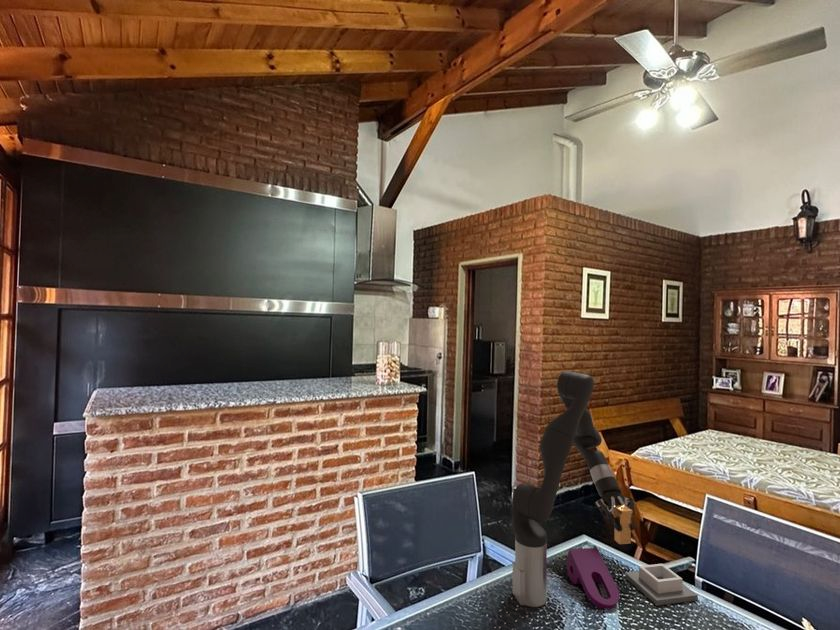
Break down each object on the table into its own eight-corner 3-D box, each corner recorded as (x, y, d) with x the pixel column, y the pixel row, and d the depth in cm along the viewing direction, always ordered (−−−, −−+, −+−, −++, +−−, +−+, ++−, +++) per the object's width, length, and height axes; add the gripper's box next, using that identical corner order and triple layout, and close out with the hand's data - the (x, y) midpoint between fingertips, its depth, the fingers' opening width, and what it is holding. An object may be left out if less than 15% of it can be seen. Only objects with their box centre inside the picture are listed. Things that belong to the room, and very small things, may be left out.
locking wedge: (621, 545, 143) (621, 511, 143) (613, 538, 147) (613, 505, 147) (632, 544, 144) (632, 510, 144) (623, 538, 148) (623, 505, 148)
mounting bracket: (618, 621, 129) (591, 564, 145) (625, 604, 125) (597, 547, 142) (588, 623, 128) (564, 566, 144) (594, 605, 124) (569, 548, 141)
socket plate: (656, 605, 127) (656, 588, 127) (625, 577, 141) (625, 562, 141) (697, 600, 130) (697, 583, 130) (663, 573, 144) (663, 558, 144)
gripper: (591, 476, 152) (612, 527, 140) (627, 474, 154) (651, 524, 142) (582, 486, 157) (602, 536, 145) (617, 484, 160) (640, 533, 147)
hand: (626, 530), depth 144 cm, fingers closed on locking wedge, 4 cm apart
